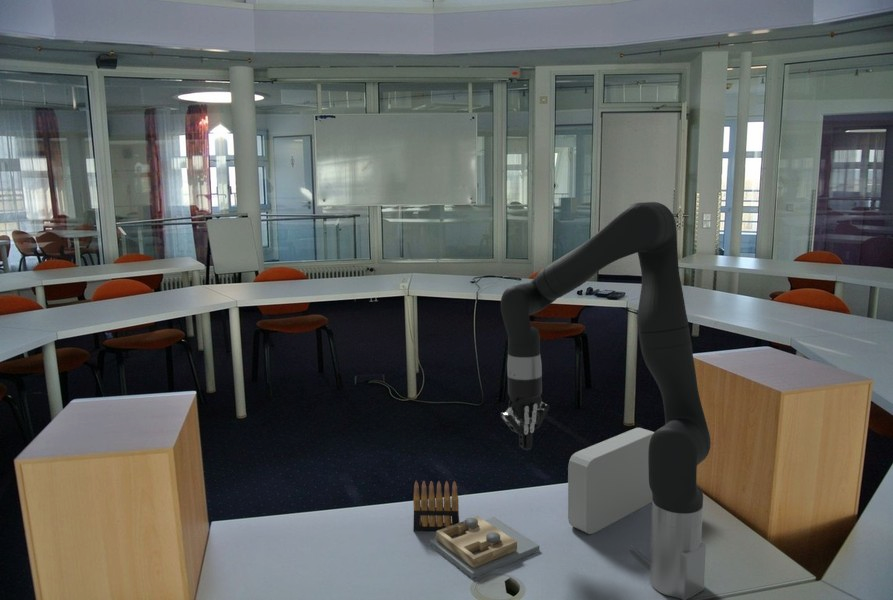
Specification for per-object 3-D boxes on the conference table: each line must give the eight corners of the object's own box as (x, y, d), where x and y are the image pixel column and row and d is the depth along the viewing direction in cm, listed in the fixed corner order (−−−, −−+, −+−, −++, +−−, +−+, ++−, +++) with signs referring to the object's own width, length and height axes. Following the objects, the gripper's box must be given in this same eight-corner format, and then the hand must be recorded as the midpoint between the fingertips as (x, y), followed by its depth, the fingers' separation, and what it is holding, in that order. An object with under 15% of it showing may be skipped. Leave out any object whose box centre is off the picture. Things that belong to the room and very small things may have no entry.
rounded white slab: (633, 488, 173) (634, 422, 170) (659, 498, 167) (660, 430, 164) (559, 525, 155) (560, 452, 152) (585, 538, 149) (586, 462, 146)
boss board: (539, 550, 144) (539, 530, 144) (472, 578, 134) (472, 556, 134) (494, 521, 157) (493, 502, 157) (430, 545, 148) (429, 525, 147)
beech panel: (517, 550, 142) (517, 541, 142) (473, 567, 136) (473, 558, 135) (478, 524, 153) (478, 515, 153) (436, 539, 147) (436, 530, 147)
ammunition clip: (413, 531, 154) (411, 482, 152) (414, 527, 156) (412, 479, 154) (459, 531, 153) (458, 482, 151) (459, 527, 155) (458, 479, 153)
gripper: (512, 382, 140) (514, 460, 143) (558, 371, 147) (559, 446, 150) (490, 375, 146) (492, 450, 149) (535, 365, 153) (537, 437, 156)
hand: (526, 448), depth 149 cm, fingers closed
